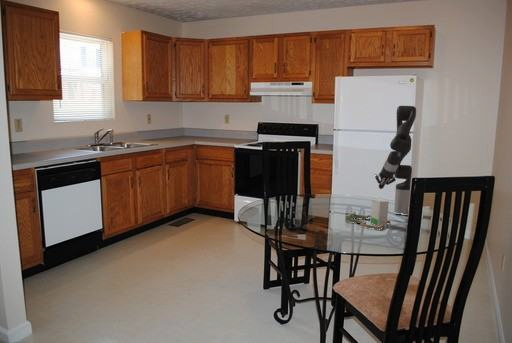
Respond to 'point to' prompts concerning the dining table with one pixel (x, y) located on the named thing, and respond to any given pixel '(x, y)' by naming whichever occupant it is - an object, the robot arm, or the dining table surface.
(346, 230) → the dining table surface
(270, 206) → the dining table surface
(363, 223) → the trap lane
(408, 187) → the robot arm
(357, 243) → the dining table surface
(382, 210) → the skincare box
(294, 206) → the dining table surface
